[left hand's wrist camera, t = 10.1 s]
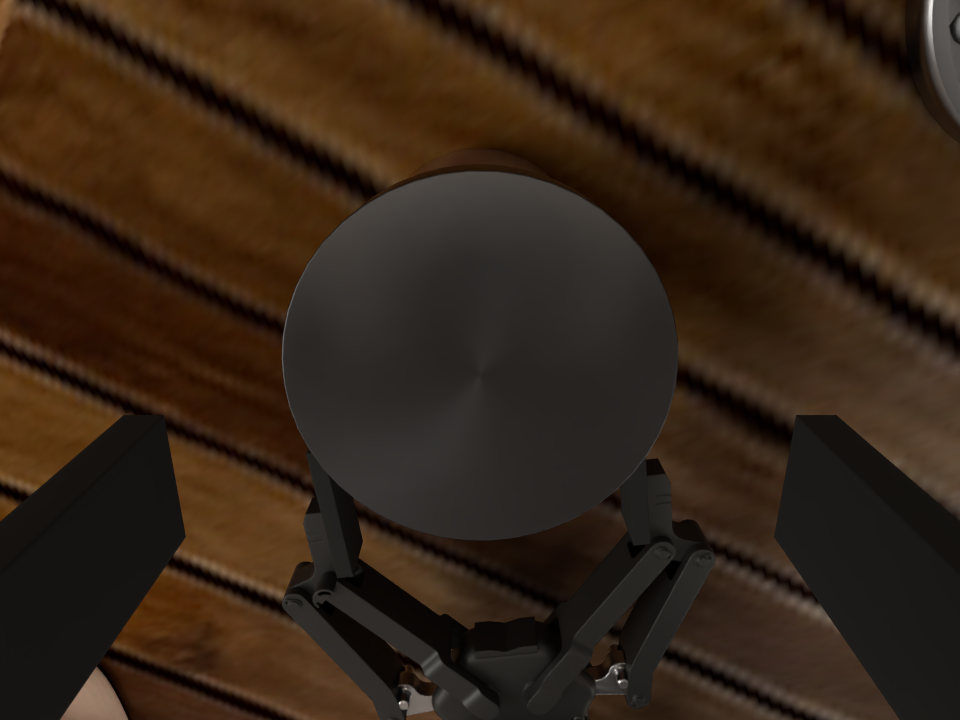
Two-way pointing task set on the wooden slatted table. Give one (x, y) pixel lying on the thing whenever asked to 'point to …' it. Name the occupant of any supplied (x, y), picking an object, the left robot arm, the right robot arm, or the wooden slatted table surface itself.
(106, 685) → the anatomical model
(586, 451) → the lid
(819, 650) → the wooden slatted table surface
